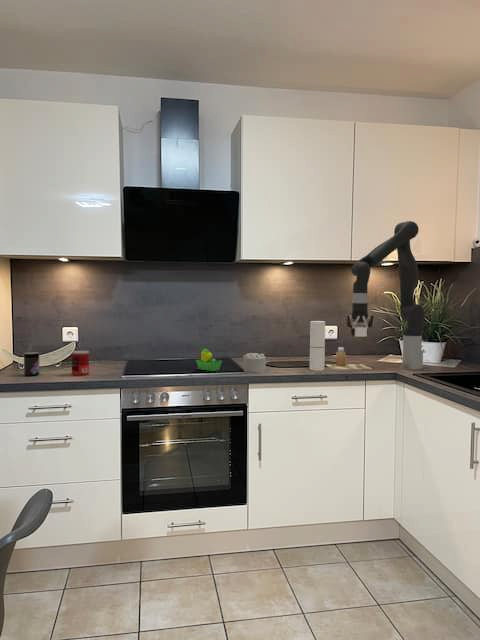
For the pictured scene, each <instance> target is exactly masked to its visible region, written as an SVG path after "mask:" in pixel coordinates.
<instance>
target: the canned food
mask: <svg viewBox="0 0 480 640" xmlns="http://www.w3.org/2000/svg"><path fill="white" fill-rule="evenodd" d="M71 374H72V376H73V377H85V376H88V375H89V374H90V350H73V351H71Z"/></svg>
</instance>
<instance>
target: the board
mask: <svg viewBox="0 0 480 640" xmlns="http://www.w3.org/2000/svg"><path fill="white" fill-rule="evenodd" d="M324 366H325V367H328V368H329V369H331V370H373V368H372V367H369V366H367V365H364V364H362V363H353V364H352V363H348V364H347V363H345V366H343V367H340V366H336V363H334V364H333V363H332V364H330V363H329V364H325V363H324Z"/></svg>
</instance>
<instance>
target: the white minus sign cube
mask: <svg viewBox="0 0 480 640" xmlns="http://www.w3.org/2000/svg"><path fill="white" fill-rule="evenodd" d="M354 329H355V336H354V337H356V338H357V337H358V338H359V337H364V338H365V337H367V336H368V335H367V327H364V325H363V326H360V325H355V328H354Z"/></svg>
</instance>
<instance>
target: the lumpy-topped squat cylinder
mask: <svg viewBox="0 0 480 640" xmlns="http://www.w3.org/2000/svg"><path fill="white" fill-rule="evenodd" d="M242 358H243V368H242V370H243V372H245V373H250V374H263V373H265V372H266V356H265V354H264V353H260V354H259V353H257V352H249V353H246V354H245V355H243V357H242Z"/></svg>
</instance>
